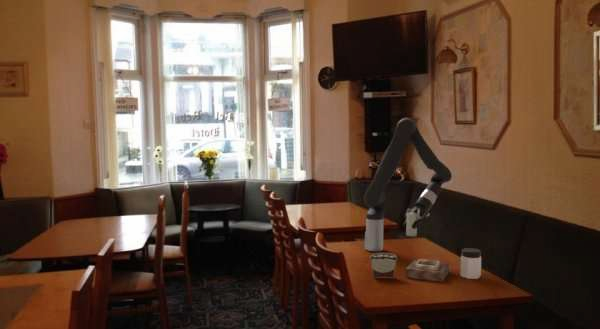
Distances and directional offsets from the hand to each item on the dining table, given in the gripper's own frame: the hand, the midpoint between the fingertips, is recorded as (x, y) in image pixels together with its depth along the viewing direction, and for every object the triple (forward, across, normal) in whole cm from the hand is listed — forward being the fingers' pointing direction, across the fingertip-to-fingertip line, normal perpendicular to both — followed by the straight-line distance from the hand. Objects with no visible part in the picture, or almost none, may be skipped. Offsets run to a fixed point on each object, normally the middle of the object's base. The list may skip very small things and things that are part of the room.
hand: (408, 226), depth 251 cm
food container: (+31, +9, -5) cm, 32 cm away
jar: (+8, +32, +17) cm, 37 cm away
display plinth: (+18, +20, +7) cm, 27 cm away
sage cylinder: (+2, 0, +4) cm, 5 cm away
